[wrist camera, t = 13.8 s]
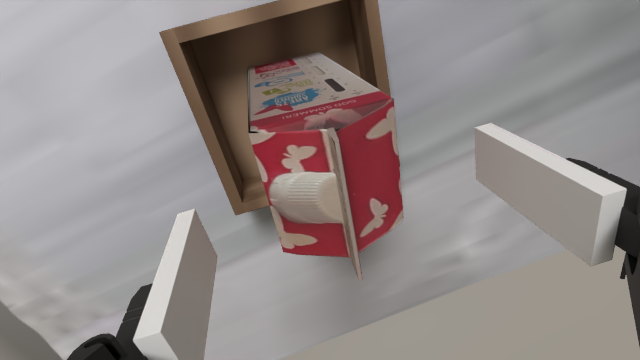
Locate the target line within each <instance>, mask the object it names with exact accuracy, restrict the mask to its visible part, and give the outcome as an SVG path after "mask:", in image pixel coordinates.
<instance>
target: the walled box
mask: <svg viewBox="0 0 640 360" xmlns="http://www.w3.org/2000/svg"><path fill="white" fill-rule="evenodd" d="M159 33H160V36H161V38H162V40H163V43H164V45H165V48H166V50H167V52H168V55H169V57H170V60H171V62H172V64H173V67H174V69H175V72H176V74H177V76H178V79H179V81H180V84H181V86H182V88H183V91H184V93H185V96H186V98H187V100H188V103H189V105H190V108H191V110H192V112H193V115H194V117H195V120H196V122H197V124H198V127H199V129H200V132H201V134H202V136H203V139H204V141H205V143H206V146H207V148H208V151H209V153H210V155H211V158H212V160H213V163H214V165H215V167H216V170H217V172H218V175H219V177H220V179H221V182H222V184H223V187H224V189H225V191H226V194H227V196H228V199H229V201H230V203H231V206H232V208H233V211H234V213H235V215H239V214H242V213H246V212H249V211H252V210H256V209H259V208H262V207H266V206H269V202H268V198H267V195H266V191H265V188H264V185H263V181H262V178H261V174H260V171H259V168H258V164H257V161H256V158H255V154H254V151H253V147H252V144H251V141H250V137H249V134H248V82H247V69H248V67H252V66H257V65H261V64H266V63H270V62H275V61H279V60H284V59H288V58H293V57H297V56H302V55H306V54H311V53H315V52H319V53H321V54H323V55H324V56H326V57H328V58H329V59H331V60H332V61H334V62H336V63H337V64H339V65H340V66H342V67H344V68H345V69H347V70H348V71H350V72H352V73H353V74H355V75H356V76H358V77H360V78H361V79H363V80H364V81H366V82H367V83H369V84H371V85H372V86H374V87H375V88H377V89H379V90H380V91H382V92H383V93H385V94H387V95H388V96H390V88H389V81H388V74H387V66H386V59H385V52H384V44H383V37H382V29H381V22H380V15H379V7H378V0H278V1H274V2H270V3H266V4H263V5H259V6H255V7H251V8H247V9H244V10H240V11H236V12H232V13H228V14H225V15H221V16H217V17H213V18H209V19H206V20H202V21H198V22H194V23H190V24H187V25H183V26H179V27H175V28H172V29H168V30H165V31H162V32H159ZM390 97H391V96H390ZM398 158H399V155H398ZM399 167H400V162H399Z"/></svg>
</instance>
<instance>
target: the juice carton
mask: <svg viewBox="0 0 640 360" xmlns="http://www.w3.org/2000/svg"><path fill="white" fill-rule="evenodd" d="M247 82H248V134H249V137H250V141H251V144H252V147H253V151H254V154H255V158H256V161H257V164H258V168H259V171H260V174H261V178H262V181H263V185H264V188H265V191H266V195H267V198H268V202H269V205H270V208H271V212H272V215H273V218H274V222H275V225H276V229H277V232H278V235H279V239H280V242H281V246H282V249H283V252H287V253H292V254H298V255H315V256H332V257H349V258H351V261H352V263H353V266H354V269H355V271H356V274H357V277H358V279H359V280H362V276H361V274H362V273H361V267H360V261H359V255H358V254H359V253H360V252H361V251H363V250H364V249H366V248H367V247H368V246H370V245H371V244H372V243H374V242H375V241H377V240H378V239H379V238H381V237H382V236H384V235H385V234H386V233H388V232H389V231H391V230H392V229H393V228H395V227H396V226H397V225H398V224H399V223H400V222H401V221H402V220H403V219H404V217H403V205H402V194H401V182H400V170H399V158H398V147H397V135H396V123H395V111H394V100H393V98H391V97H390V96H388V95H387V94H385V93H383V92H382V91H380V90H379V89H377V88H375V87H374V86H372V85H371V84H369V83H367V82H366V81H364V80H363V79H361V78H360V77H358V76H356V75H355V74H353V73H352V72H350V71H348V70H347V69H345V68H344V67H342V66H340V65H339V64H337V63H336V62H334V61H332V60H331V59H329V58H328V57H326V56H324V55H323V54H321V53H319V52H315V53H311V54H306V55H302V56H297V57H293V58H288V59H284V60H279V61H275V62H270V63H266V64H261V65H257V66H252V67H248V69H247ZM351 238H352V239H351Z"/></svg>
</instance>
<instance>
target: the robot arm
mask: <svg viewBox="0 0 640 360" xmlns="http://www.w3.org/2000/svg"><path fill="white" fill-rule="evenodd" d="M475 154H476V180H478V181H479V182H480V183H482V184H483V185H484V186H486V187H487V188H488V189H490V190H491V191H492V192H494V193H495V194H496V195H497V196H499V197H500V198H501V199H503V200H504V201H505V202H507V203H508V204H509V205H511V206H512V207H513V208H514V209H516V210H517V211H518V212H520V213H521V214H522V215H524V216H525V217H526V218H528V219H529V220H530V221H532V222H533V223H534V224H535V225H537V226H538V227H539V228H541V229H542V230H543V231H545V232H546V233H547V234H549V235H550V236H551V237H552V238H554V239H555V240H556V241H558V242H559V243H560V244H562V245H563V246H564V247H566V248H567V249H568V250H570V251H571V252H572V253H574V254H575V255H576V256H577V257H579V258H580V259H582V260H583V261H584V262H585V263H587V264H588V265H589V266H594V265H597V264H600V263H603V262H606V261H610V260H612V258H613V253H614V247H615V245H616V246H618V247H620V248H621V249H623V250H624V251H626V254H625V259H624V263H623V267H622V272H621V276H620V278H621V279H625V275H627V280H628V285H629V291H630V297H631V302H632V308H633V313H634V319H635V324H636V330H637V335H638V340H639V346H640V187H639V186H637V185H634V184H632V183H630V182H628V181H626V180H624V179H621V178H619V177H617V176H615V175H613V174H608V172H606V171H604V170H602V169H598V168H597V167H595V166H593V165H591V164H589V163H587V162H585V161H580V160H576V159H571V158H566V159H564V158H562V157H560V156H558V155H556V154H554V153H552V152H550V151H548V150H545V149H543V148H541V147H539V146H537V145H535V144H533V143H531V142H529V141H527V140H525V139H523V138H521V137H518V136H516V135H514V134H512V133H510V132H508V131H506V130H504V129H502V128H500V127H498V126H496V125H494V124H492V123H489V124H485V125H482V126H478V127H475ZM216 264H217V254H216V252H215V250H214V248H213V246H212V244H211V242H210V240H209V238H208V235H207V233H206V231H205V229H204V227H203V225H202V223H201V221H200V219H199V217H198V214H197V212H196V210H195V209H193V210H189V211H186V212H183V213H179V214H178V215H177V218H176V220H175V223H174V226H173V229H172V232H171V234H170V237H169V240H168V243H167V246H166V248H165V251H164V254H163V257H162V260H161V262H160V265H159V268H158V271H157V274H156V276H155V279H154V282H153V283H152V284H149V285H146V286H142V287H141V288H140V289H139V290H138V291H137V293H136V294H135V295H134V296H133V298H132V299H131V301H130V304H129V306H128V308H127V313H125V316H124V318H123V323H121V325H120V328H119V330H118V333H117V335H116V338H115V336H113V335H111V334H109V333H108V334H100V335H97V336H95V337H92V338H90V339H89V340H87V341H86V342H84V343H82V344H81V345H80V346H79V347H78V348H77V349H76V350H74V351H73V352H72V354H71V355H70V356H69V358H68V359H67V360H204V352H205V345H206V338H207V330H208V323H209V315H210V308H211V301H212V293H213V286H214V279H215V271H216Z"/></svg>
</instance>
